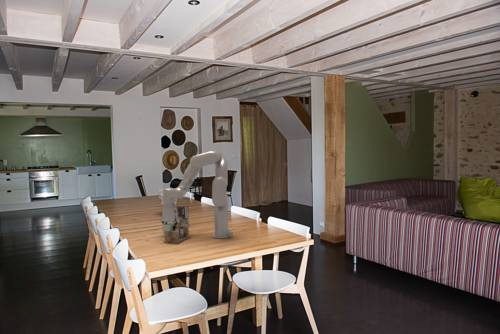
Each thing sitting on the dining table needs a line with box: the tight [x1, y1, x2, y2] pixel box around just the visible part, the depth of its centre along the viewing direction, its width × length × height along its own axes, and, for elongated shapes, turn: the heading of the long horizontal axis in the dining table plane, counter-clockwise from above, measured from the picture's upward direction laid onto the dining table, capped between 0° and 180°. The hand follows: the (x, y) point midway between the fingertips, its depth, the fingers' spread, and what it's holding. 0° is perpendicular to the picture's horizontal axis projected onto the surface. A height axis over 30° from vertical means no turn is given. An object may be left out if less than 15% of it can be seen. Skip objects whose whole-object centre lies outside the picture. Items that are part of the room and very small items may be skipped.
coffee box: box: [175, 205, 190, 228], centre depth 286 cm, size 9×6×16 cm
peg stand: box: [163, 226, 191, 245], centre depth 245 cm, size 11×16×8 cm
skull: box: [157, 188, 178, 216], centre depth 333 cm, size 25×19×23 cm
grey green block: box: [161, 222, 178, 235], centre depth 256 cm, size 6×10×6 cm, turn 157°
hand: (170, 230), depth 256 cm, fingers closed on grey green block, 6 cm apart
